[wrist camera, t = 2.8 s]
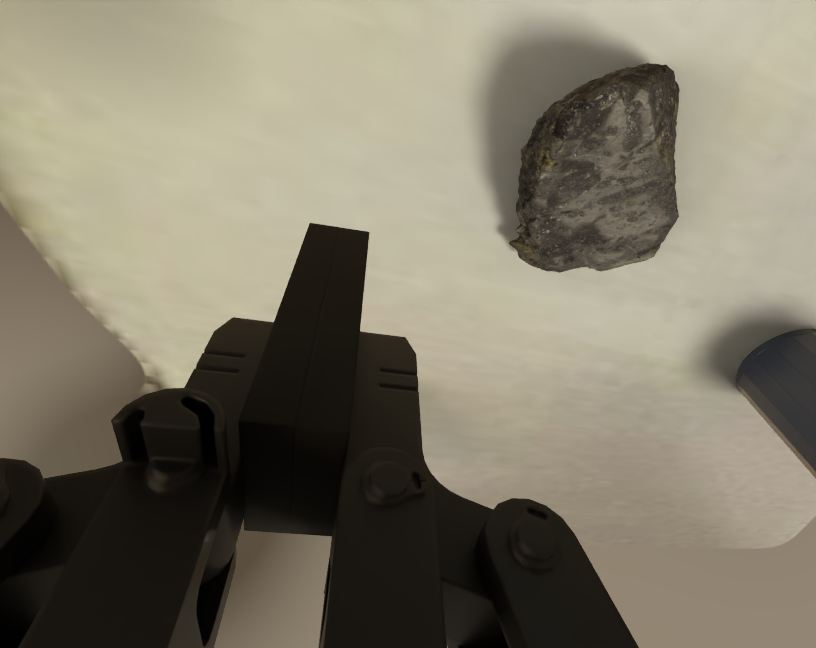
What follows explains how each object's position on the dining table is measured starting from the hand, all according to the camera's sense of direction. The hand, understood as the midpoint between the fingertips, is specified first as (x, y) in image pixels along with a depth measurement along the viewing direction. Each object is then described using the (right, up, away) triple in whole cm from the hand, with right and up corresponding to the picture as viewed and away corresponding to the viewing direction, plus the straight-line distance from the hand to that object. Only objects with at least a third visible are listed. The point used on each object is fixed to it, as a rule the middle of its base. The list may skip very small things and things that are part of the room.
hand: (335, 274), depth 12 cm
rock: (+12, +8, +14) cm, 21 cm away
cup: (+32, -5, +24) cm, 40 cm away
